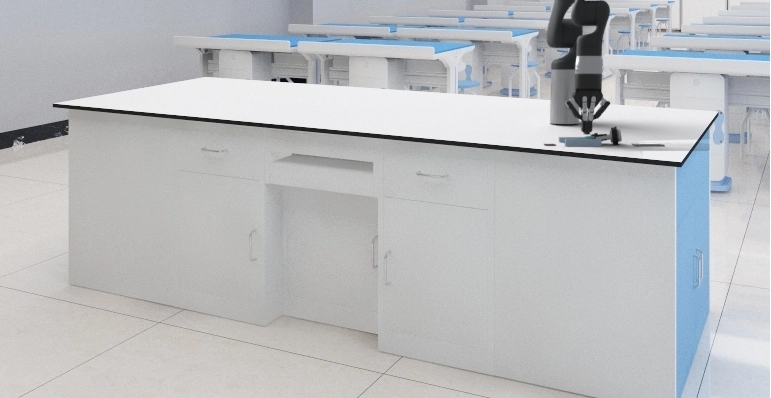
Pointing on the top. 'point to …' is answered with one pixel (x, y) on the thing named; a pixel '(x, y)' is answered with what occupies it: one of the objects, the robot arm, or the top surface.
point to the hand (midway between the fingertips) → (586, 134)
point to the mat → (648, 145)
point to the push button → (608, 136)
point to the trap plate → (550, 144)
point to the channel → (579, 141)
